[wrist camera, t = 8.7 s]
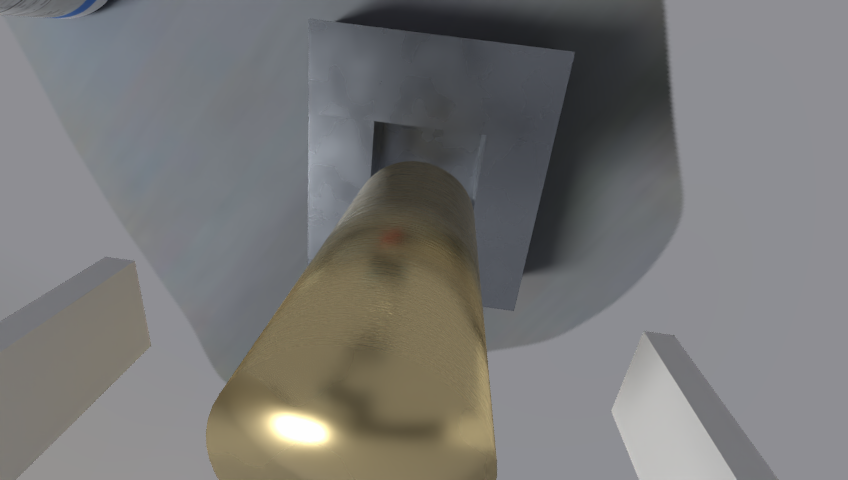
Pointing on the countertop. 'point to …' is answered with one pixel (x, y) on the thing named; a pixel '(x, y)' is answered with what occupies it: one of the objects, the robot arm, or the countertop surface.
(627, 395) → the robot arm
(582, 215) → the countertop surface
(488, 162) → the housing
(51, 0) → the supplement tub
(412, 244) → the cream rounded cylinder
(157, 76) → the countertop surface
